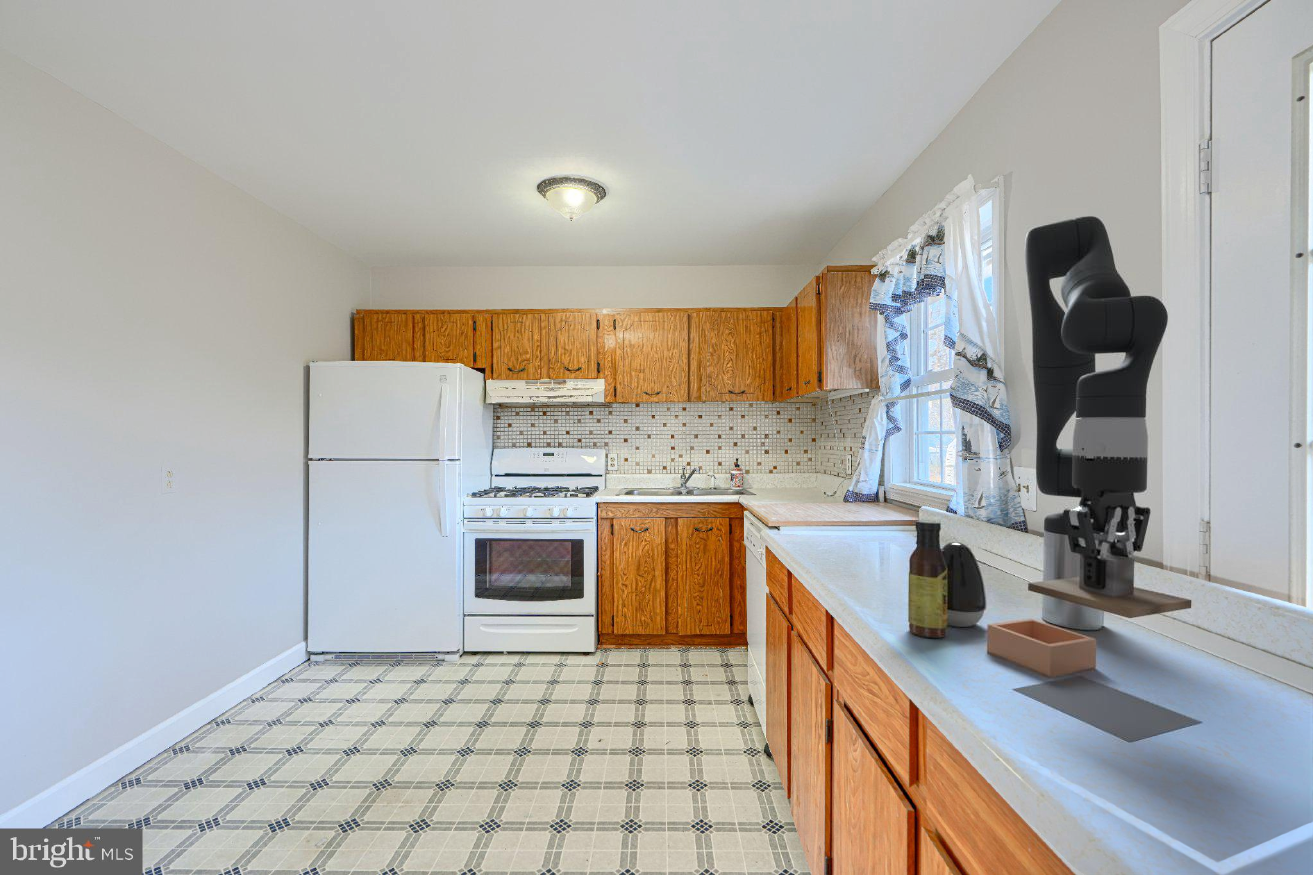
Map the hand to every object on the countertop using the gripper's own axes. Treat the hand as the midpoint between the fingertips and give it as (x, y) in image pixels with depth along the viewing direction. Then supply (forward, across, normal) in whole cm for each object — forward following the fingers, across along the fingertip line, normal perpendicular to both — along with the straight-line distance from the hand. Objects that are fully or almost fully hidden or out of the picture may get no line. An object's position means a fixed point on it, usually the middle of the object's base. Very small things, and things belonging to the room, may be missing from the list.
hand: (1105, 585), depth 73 cm
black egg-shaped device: (+16, -11, -32) cm, 37 cm away
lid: (+2, 0, 0) cm, 2 cm away
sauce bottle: (+16, -1, -29) cm, 33 cm away
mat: (+16, 0, 0) cm, 16 cm away
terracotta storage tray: (+16, -7, -13) cm, 22 cm away
